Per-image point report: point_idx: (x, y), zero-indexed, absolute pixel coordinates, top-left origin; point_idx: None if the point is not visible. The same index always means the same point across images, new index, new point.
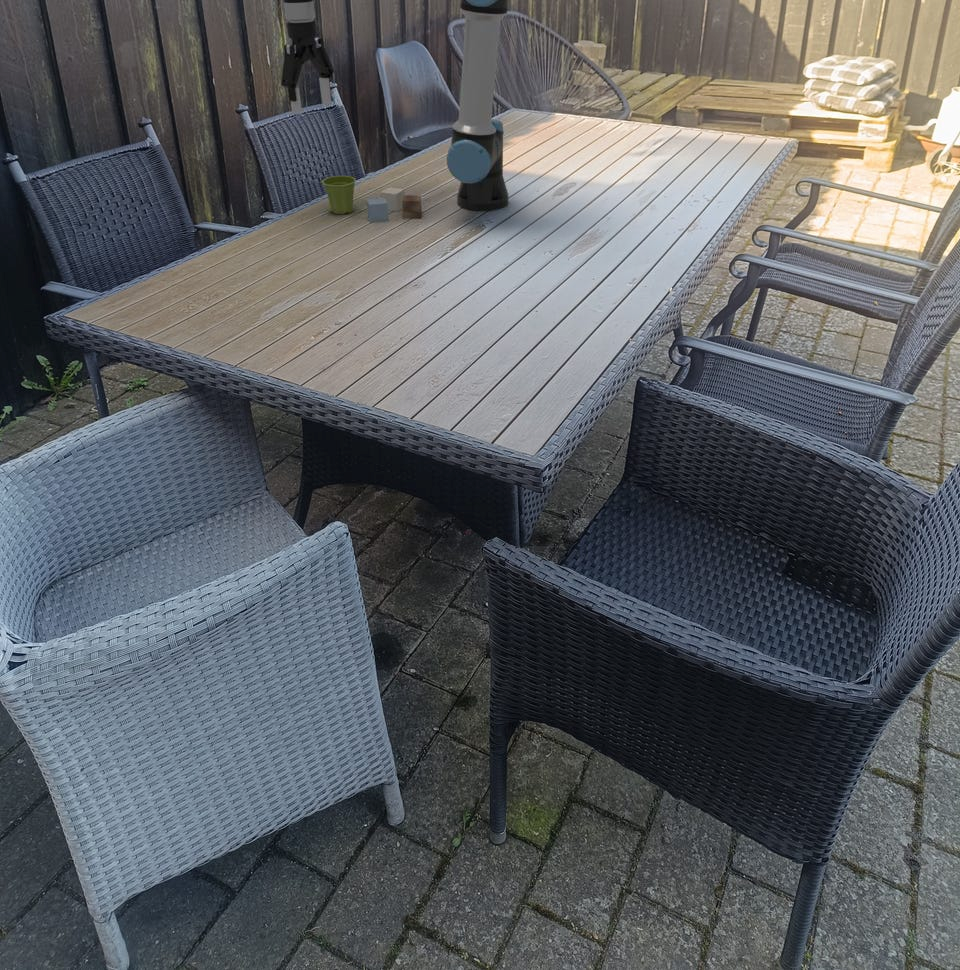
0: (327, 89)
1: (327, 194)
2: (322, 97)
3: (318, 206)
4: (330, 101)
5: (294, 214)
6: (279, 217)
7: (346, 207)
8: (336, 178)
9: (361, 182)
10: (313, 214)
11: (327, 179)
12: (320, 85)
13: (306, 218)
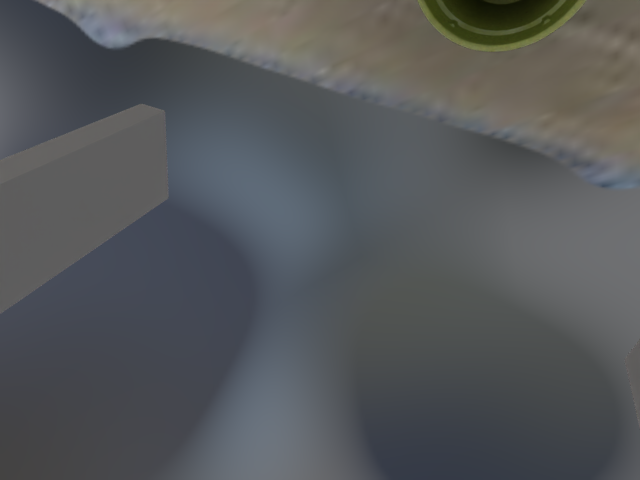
0: (53, 176)
1: (538, 12)
2: (130, 212)
3: (457, 87)
4: (139, 115)
5: (570, 144)
6: (612, 188)
7: None
8: (429, 4)
9: (166, 36)
10: (566, 67)
11: (469, 39)
12: (36, 281)
13: (627, 77)
